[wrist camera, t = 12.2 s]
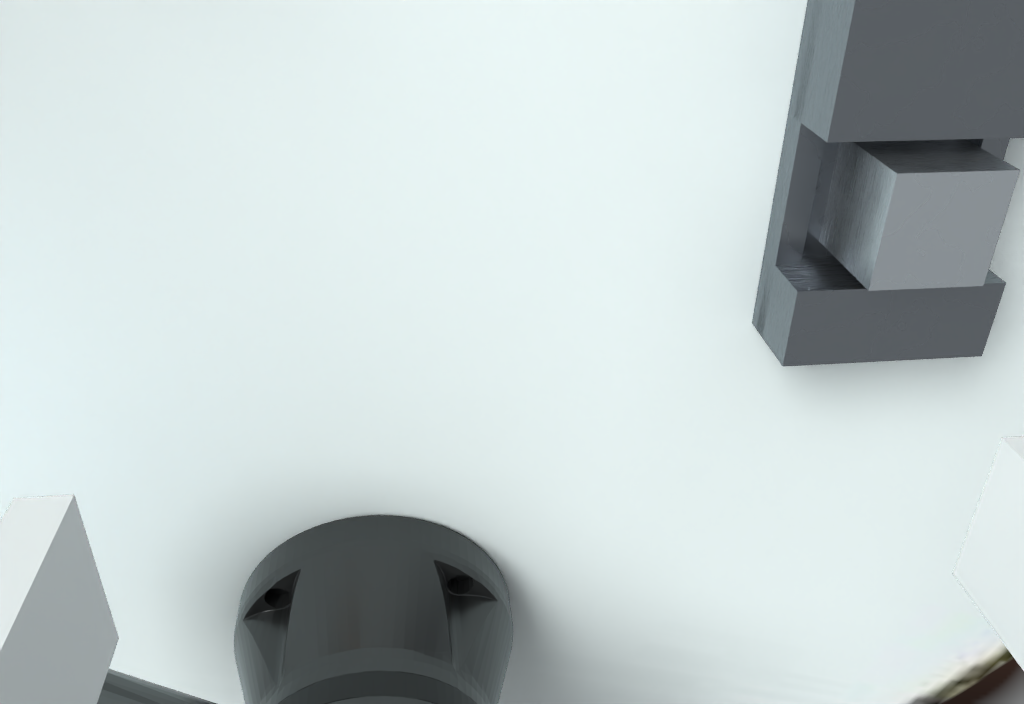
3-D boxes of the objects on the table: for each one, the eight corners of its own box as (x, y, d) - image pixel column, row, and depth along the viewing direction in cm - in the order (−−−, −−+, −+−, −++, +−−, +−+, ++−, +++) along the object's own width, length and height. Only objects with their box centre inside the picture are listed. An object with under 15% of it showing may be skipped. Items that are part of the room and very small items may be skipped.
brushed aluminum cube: (922, 237, 41) (983, 286, 37) (819, 241, 41) (868, 290, 36) (951, 131, 39) (1020, 170, 34) (840, 133, 38) (897, 173, 34)
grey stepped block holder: (936, 314, 44) (981, 356, 41) (752, 323, 43) (782, 366, 40) (1151, -419, 30) (1248, -449, 26) (882, -431, 29) (947, -464, 26)
